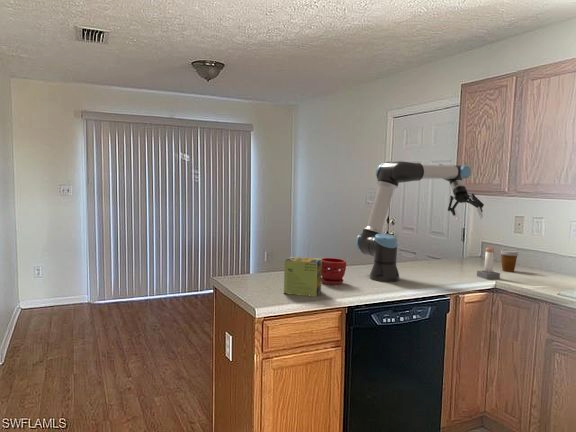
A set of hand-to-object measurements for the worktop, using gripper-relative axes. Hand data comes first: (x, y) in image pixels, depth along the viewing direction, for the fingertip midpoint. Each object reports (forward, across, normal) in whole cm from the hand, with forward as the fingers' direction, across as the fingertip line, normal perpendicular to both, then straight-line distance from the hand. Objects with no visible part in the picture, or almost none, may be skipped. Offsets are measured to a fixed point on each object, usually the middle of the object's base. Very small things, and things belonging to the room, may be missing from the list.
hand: (469, 218), depth 251 cm
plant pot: (+39, +83, +12) cm, 92 cm away
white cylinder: (+34, -2, -8) cm, 35 cm away
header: (+34, -2, -9) cm, 36 cm away
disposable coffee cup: (+21, -24, -30) cm, 43 cm away
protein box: (+51, +98, +29) cm, 114 cm away
